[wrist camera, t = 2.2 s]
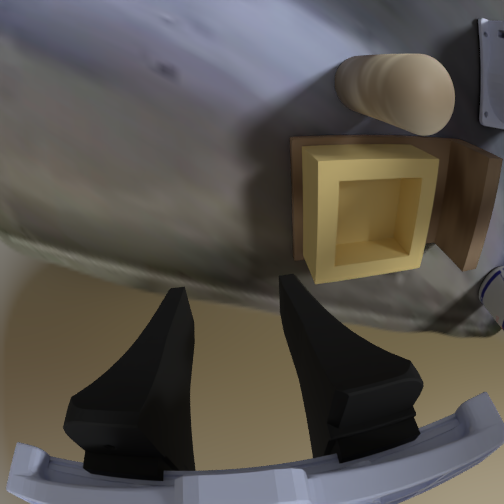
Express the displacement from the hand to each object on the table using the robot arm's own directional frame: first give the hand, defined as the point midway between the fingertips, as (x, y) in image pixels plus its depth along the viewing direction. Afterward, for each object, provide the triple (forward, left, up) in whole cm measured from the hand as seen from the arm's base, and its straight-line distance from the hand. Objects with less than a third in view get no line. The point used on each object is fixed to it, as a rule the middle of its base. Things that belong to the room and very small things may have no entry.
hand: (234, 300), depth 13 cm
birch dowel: (-8, +10, -9) cm, 16 cm away
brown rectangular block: (0, +12, -9) cm, 15 cm away
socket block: (0, +9, -9) cm, 13 cm away
